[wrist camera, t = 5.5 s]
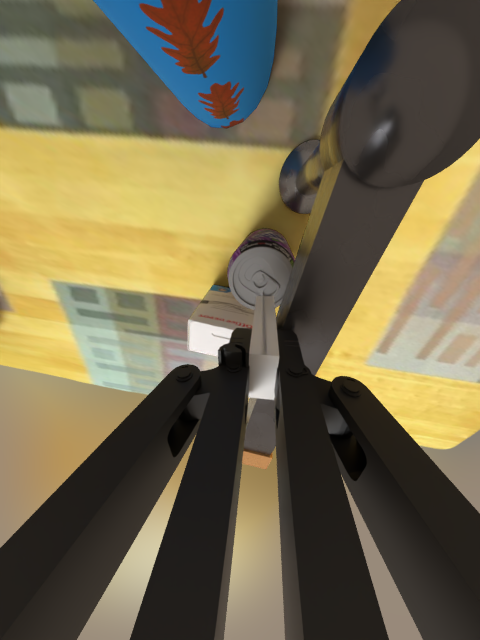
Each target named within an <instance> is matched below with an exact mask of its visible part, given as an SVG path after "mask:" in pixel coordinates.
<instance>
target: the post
mask: <svg viewBox="0 0 480 640" xmlns="http://www.w3.org/2000/svg"><path fill="white" fill-rule="evenodd" d="M323 174H324V170H323V167H322V164H321V159H320V140H310V141H307V142H304V143H302V144H301V145H299V146H298V147H296V148H295V149H294V150H293V151H292V152H291V153H290V155H289V156H288V157H287V159H286V161H285V162H284V164H283V167H282V170H281V173H280V178H279V191H280V195H281V198H282V200H283V202H284V203H285V205H286V206H287V207H288V208H289V209H291V210H292V211H294V212H297V213H302V214H308V213H311V211H312V207H313V204H314V201H315V198H316V195H317V192H318V189H319V186H320V183H321V180H322V177H323Z"/></svg>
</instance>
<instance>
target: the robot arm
mask: <svg viewBox="0 0 480 640" xmlns="http://www.w3.org/2000/svg"><path fill="white" fill-rule="evenodd" d="M218 361H219V366H218V367H216V368H214V369H211V370H206V371H200V370H199V369H198V367H196V366H194V365H189V364H187V365H181V366H179V367H176V368H175V369H174V370H172V371H171V372H170V373H169V374H168V375H167V376H166V377H165V378H164V379H163V380H162V381H161V382H160V383H159V384H158V386H157V387H156V388H155V389H154V390H153V391H152V392H151V393H150V394H149V395H148V396H147V397H146V398H145V399H144V400H143V401H142V402H141V403H140V404H139V405H138V406H137V407H136V408H135V409H134V410H133V411H132V413H130V415H129V416H128V417H127V418H126V419H125V420H124V421H123V422H122V423H121V424H120V425H119V426H118V427H117V428H116V429H115V430H114V431H113V432H112V433H111V434H110V435H109V436H108V437H107V438H106V439H105V440H104V441H103V442H102V443H101V445H100V446H99V447H98V448H97V449H96V450H95V451H94V452H93V453H92V454H91V455H90V456H89V457H88V458H87V459H86V460H85V461H84V462H83V463H82V464H81V465H80V467H78V468H77V469H76V470H75V471H74V472H73V473H72V474H71V476H70V477H69V478H68V479H67V480H66V481H65V482H64V483H63V484H62V485H61V486H60V487H59V488H58V489H57V490H56V491H55V492H54V493H53V494H52V495H51V496H50V497H49V498H48V499H47V500H46V501H45V502H44V503H43V504H42V505H41V507H40V508H39V509H38V510H37V511H36V512H35V513H34V514H33V515H32V516H31V517H30V518H29V519H28V520H27V521H26V522H25V523H24V524H23V525H22V526H21V527H20V528H19V529H18V530H17V531H16V533H14V534H13V536H12V537H11V538H10V539H9V540H8V541H7V542H6V543H5V544H4V545H3V546H2V547H1V548H0V640H77V638H78V636H79V635H80V633H81V631H82V630H83V628H84V626H85V624H86V623H87V621H88V619H89V618H90V616H91V614H92V612H93V611H94V609H95V607H96V606H97V604H98V602H99V600H100V599H101V597H102V595H103V594H104V592H105V590H106V588H107V587H108V585H109V583H110V581H111V580H112V578H113V576H114V575H115V573H116V571H117V569H118V568H119V566H120V564H121V563H122V561H123V559H124V557H125V556H126V554H127V552H128V550H129V549H130V547H131V545H132V544H133V542H134V540H135V538H136V537H137V535H138V533H139V531H140V530H141V528H142V526H143V525H144V523H145V521H146V519H147V518H148V516H149V514H150V513H151V511H152V509H153V507H154V506H155V504H156V502H157V501H158V499H159V497H160V495H161V494H162V492H163V490H164V488H165V487H166V485H167V483H168V482H169V480H170V478H171V476H172V475H173V473H174V471H175V470H176V468H177V466H178V464H179V463H180V461H181V459H182V457H183V456H184V454H185V452H186V451H187V449H188V447H189V445H190V444H191V442H192V440H193V439H194V437H195V435H196V437H195V440H194V444H193V447H192V450H191V453H190V456H189V459H188V462H187V465H186V468H185V471H184V474H183V477H182V480H181V484H180V487H179V490H178V493H177V496H176V499H175V502H174V505H173V508H172V511H171V514H170V517H169V521H168V524H167V527H166V530H165V533H164V536H163V539H162V542H161V545H160V548H159V552H158V555H157V557H156V561H155V564H154V567H153V570H152V573H151V576H150V579H149V582H148V585H147V588H146V591H145V594H144V597H143V601H142V604H141V607H140V610H139V613H138V616H137V619H136V622H135V625H134V628H133V631H132V634H131V638H130V640H223V639H224V630H225V621H226V611H227V602H228V592H229V583H230V573H231V564H232V554H233V545H234V535H235V526H236V516H237V505H238V496H239V488H240V478H241V469H242V459H243V450H244V440H245V431H246V421H247V412H248V397H250V398H260V399H270V400H274V397H275V409H274V417H273V421H275V434H276V455H277V476H278V497H279V518H280V538H281V560H282V581H283V600H284V602H283V603H284V622H285V640H389V638H388V635H387V632H386V628H385V625H384V622H383V618H382V615H381V611H380V607H379V604H378V601H377V597H376V594H375V590H374V587H373V584H372V580H371V577H370V573H369V570H368V566H367V563H366V559H365V556H364V552H363V549H362V546H361V542H360V539H359V535H358V532H357V528H356V525H355V521H354V518H353V515H352V511H351V508H350V504H349V501H348V497H347V494H346V490H345V487H344V484H343V480H342V477H343V479H344V481H345V483H346V485H347V487H348V489H349V491H350V492H351V495H352V497H353V499H354V501H355V503H356V505H357V507H358V509H359V511H360V513H361V515H362V517H363V519H364V521H365V523H366V525H367V527H368V529H369V531H370V533H371V535H372V537H373V539H374V542H375V543H376V545H377V548H378V549H379V552H380V554H381V555H382V558H383V559H384V562H385V564H386V566H387V568H388V570H389V572H390V574H391V576H392V578H393V580H394V582H395V584H396V586H397V588H398V590H399V592H400V594H401V596H402V598H403V600H404V602H405V604H406V606H407V608H408V610H409V612H410V614H411V616H412V618H413V620H414V622H415V624H416V626H417V628H418V630H419V632H420V634H421V636H422V638H423V640H480V514H479V513H478V511H477V510H476V509H475V508H474V507H473V506H472V505H471V503H470V502H469V501H468V500H467V499H466V498H465V497H464V496H463V494H462V493H461V492H460V491H459V490H458V489H457V488H456V487H455V485H454V484H453V483H452V482H451V481H450V480H449V479H448V478H447V477H446V475H445V474H444V473H443V472H442V471H441V470H440V469H439V468H438V466H437V465H436V464H435V463H434V462H433V461H432V460H431V459H430V457H429V456H428V455H427V454H426V453H425V452H424V451H423V450H422V448H420V446H419V445H418V444H417V443H416V442H415V441H414V440H413V438H412V437H411V436H410V435H409V434H408V433H407V432H406V431H405V429H404V428H403V427H402V426H401V425H400V424H399V423H398V422H397V420H396V419H395V418H394V417H393V416H392V415H391V414H390V413H389V412H388V410H387V409H386V408H385V407H384V406H383V405H382V404H381V403H380V401H379V400H378V399H377V398H376V397H375V396H374V395H373V394H372V392H371V391H370V390H369V389H368V388H367V387H366V386H365V385H364V384H363V383H361V382H360V381H358V380H356V379H354V378H351V377H347V376H339V377H336V378H335V379H334V380H333V381H332V382H330V381H327V380H324V379H321V378H318V377H316V376H314V375H313V374H312V373H311V371H310V369H309V368H308V367H307V366H306V365H304V361H303V357H302V353H301V349H300V345H299V342H298V337H297V335H296V334H295V333H294V332H293V331H292V330H279V329H277V325H276V314H275V303H274V297H271V296H256V302H255V310H254V318H253V326H252V328H236V329H235V330H234V331H233V332H232V334H231V338H230V341H229V343H227V344H224V345H223V346H221V347H220V348H219V349H218ZM196 433H197V434H196ZM341 475H342V477H341Z"/></svg>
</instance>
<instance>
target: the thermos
mask: <svg viewBox="0 0 480 640" xmlns="http://www.w3.org/2000/svg"><path fill="white" fill-rule="evenodd" d="M93 1H94V2H95V3H96V4H97V5H98V6H99V8H100V9H101V10H102V11H103V12H104V13H105V15H106V16H107V17H108V18H109V19H110V20H111V22H112V23H113V24H114V25H115V26H116V27H117V29H118V30H119V31H120V32H121V33H122V34H123V36H124V37H125V38H126V39H127V40H128V41H129V43H130V44H131V45H132V46H133V47H134V48H135V50H136V51H137V52H138V53H139V54H140V55H141V57H142V58H143V59H144V60H145V61H146V62H147V64H148V65H149V66H150V67H151V68H152V69H153V71H154V72H155V73H156V74H157V75H158V76H159V78H160V79H161V80H162V81H163V82H164V83H165V85H166V86H167V87H168V88H169V89H170V90H171V92H172V93H173V94H174V95H175V96H176V97H177V99H178V100H179V101H180V102H181V103H182V104H183V105H184V106H185V107H186V108H187V109H188V110H189V111H190V112H191V113H192V114H193V115H194V116H195V117H196V118H198V119H199V120H201V121H203V122H204V123H206V124H208V125H209V126H211V127H217V128H229V127H232V126H234V125H237V124H239V123H241V122H243V121H244V120H245V119H246V118H247V117H248V116H249V115H250V114H251V113H252V112H253V111H254V110H255V109H256V108H257V106H258V104H259V102H260V100H261V98H262V96H263V94H264V92H265V90H266V88H267V86H268V82H269V77H270V73H271V69H272V65H273V60H274V50H275V41H276V31H277V2H278V0H93Z"/></svg>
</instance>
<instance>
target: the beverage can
mask: <svg viewBox="0 0 480 640" xmlns="http://www.w3.org/2000/svg"><path fill="white" fill-rule="evenodd" d="M294 262H295V259H294V256H293V254H292V252H291V250H290V247H289V245H288V243H287V241H286V239H285V238H284V237H283V236H282V235H281V234H280V233H279V232H277V231H275V230H272V229H259V230H256V231H254V232H252V233H251V234H250V235H248V236H247V237H246V239H245V240H244V241H243V242H242V244H241V245H240V246H239V247H238V249H237V250H236V251H235V252H234V254H233V255H232V257H231V259H230V262H229V265H228V281H229V287H230V290H231V292H232V294H233V296H234V297H235V299H236V300H237V301H238V302H239V303H240V304H242V305H243V306H245V307H247V308H249V309H252V310H255V302H256V296H271V297H274V303H275V308H276V307H277V306H279V305H281V302H282V298H283V295H284V292H285V289H286V286H287V283H288V280H289V277H290V274H291V271H292V268H293V265H294Z"/></svg>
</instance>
